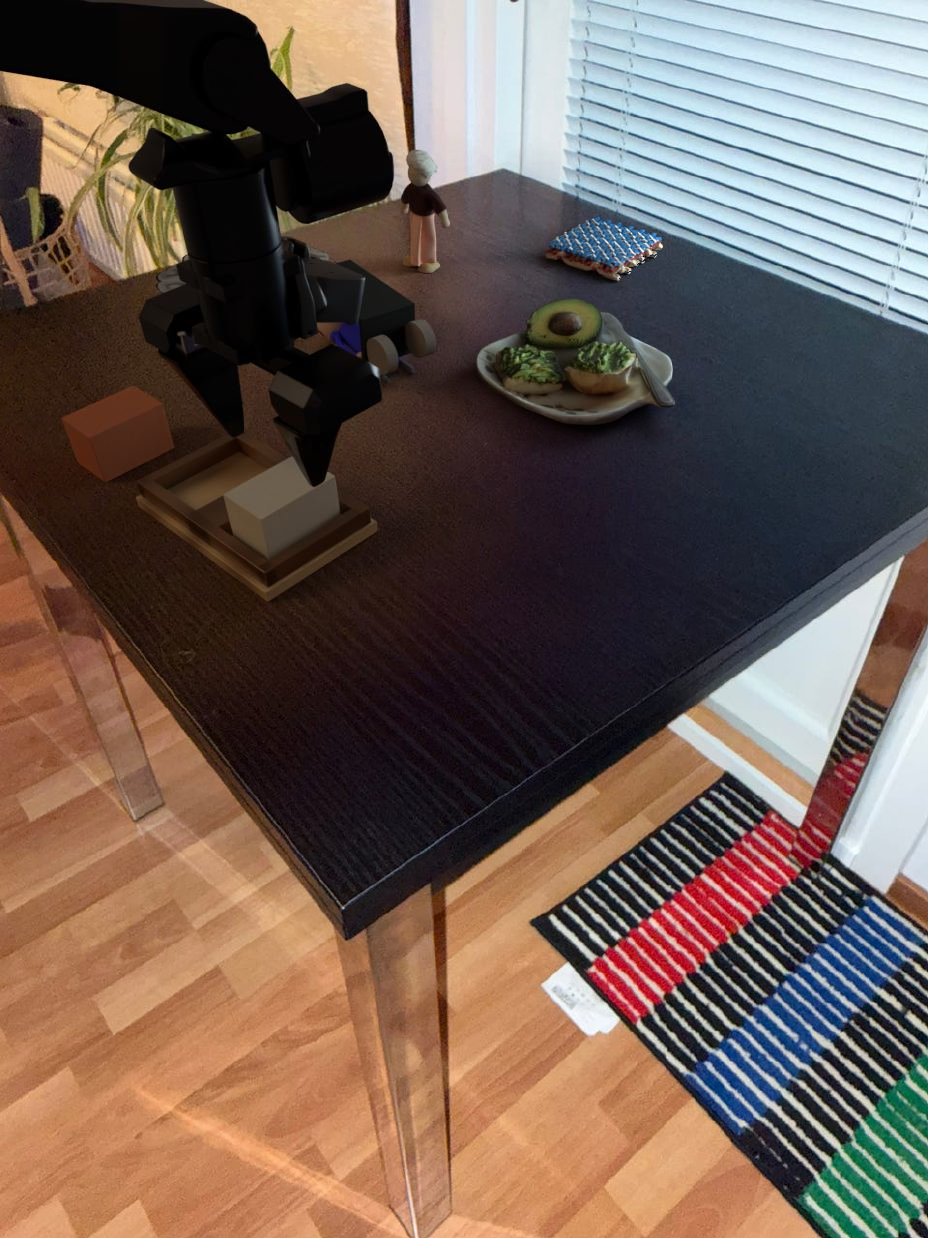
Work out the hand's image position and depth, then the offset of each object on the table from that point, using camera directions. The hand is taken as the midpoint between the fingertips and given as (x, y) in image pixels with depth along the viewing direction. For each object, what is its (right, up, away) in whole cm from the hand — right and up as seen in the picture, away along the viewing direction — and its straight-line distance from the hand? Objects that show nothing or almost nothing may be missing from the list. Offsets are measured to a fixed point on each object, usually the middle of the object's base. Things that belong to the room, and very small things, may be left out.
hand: (276, 458), depth 67 cm
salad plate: (+24, +12, +23) cm, 35 cm away
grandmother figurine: (+9, +29, +41) cm, 51 cm away
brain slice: (-11, +23, +35) cm, 43 cm away
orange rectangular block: (-16, +3, +14) cm, 22 cm away
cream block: (0, -5, +5) cm, 7 cm away
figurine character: (+4, +14, +26) cm, 30 cm away
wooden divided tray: (-3, -4, +7) cm, 9 cm away
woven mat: (+30, +31, +42) cm, 60 cm away
